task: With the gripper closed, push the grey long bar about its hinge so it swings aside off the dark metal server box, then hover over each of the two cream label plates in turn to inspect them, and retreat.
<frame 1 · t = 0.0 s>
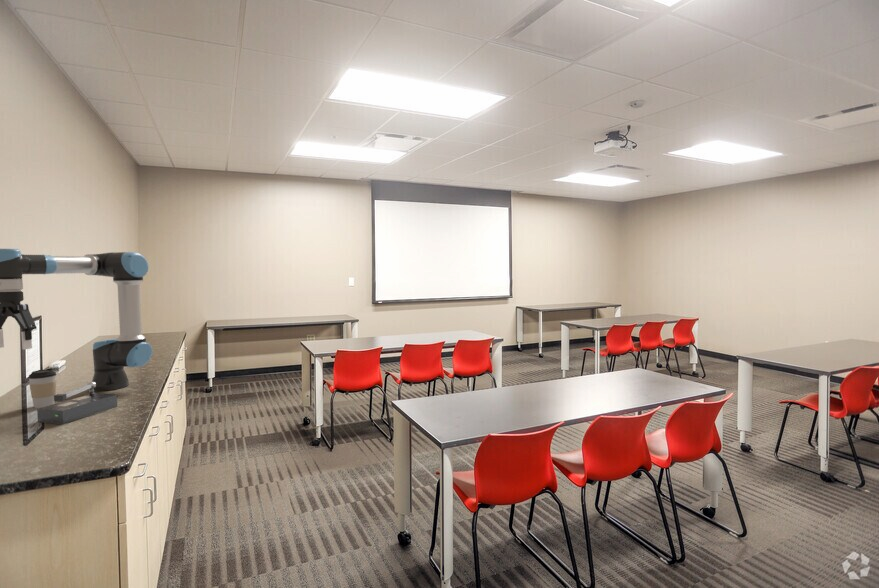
hand: (13, 348, 170), 28 cm above the table, fingers open, 13 cm apart
server box: (79, 413, 182), on the table
grey long bar: (76, 390, 182), point 9 cm above the table, hinge at 0.0°
coffee cup: (44, 405, 193), on the table
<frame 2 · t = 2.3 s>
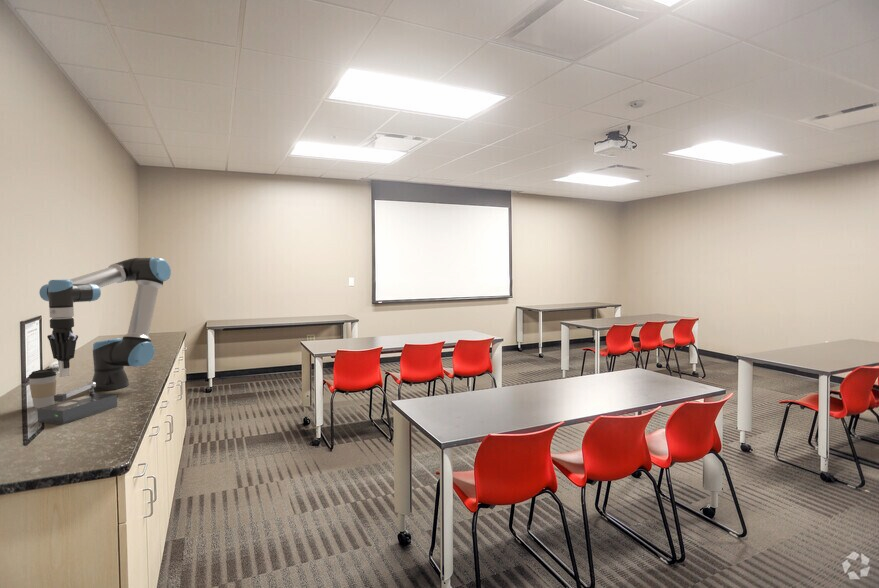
hand: (64, 376, 186), 14 cm above the table, fingers closed
nothing on the table moved.
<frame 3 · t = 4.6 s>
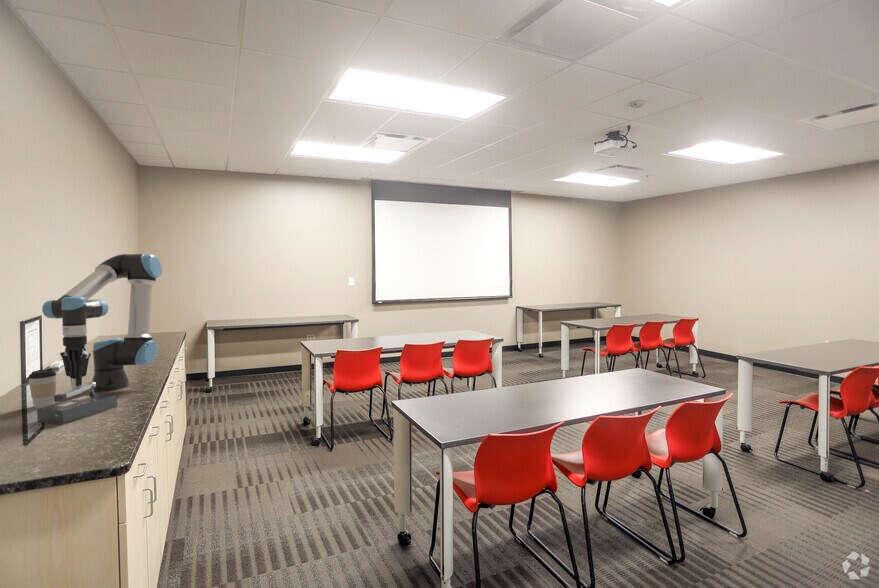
hand: (76, 393, 185), 7 cm above the table, fingers closed
grey long bar: (77, 390, 182), point 9 cm above the table, hinge at 0.1°, touching gripper
everything else where it was.
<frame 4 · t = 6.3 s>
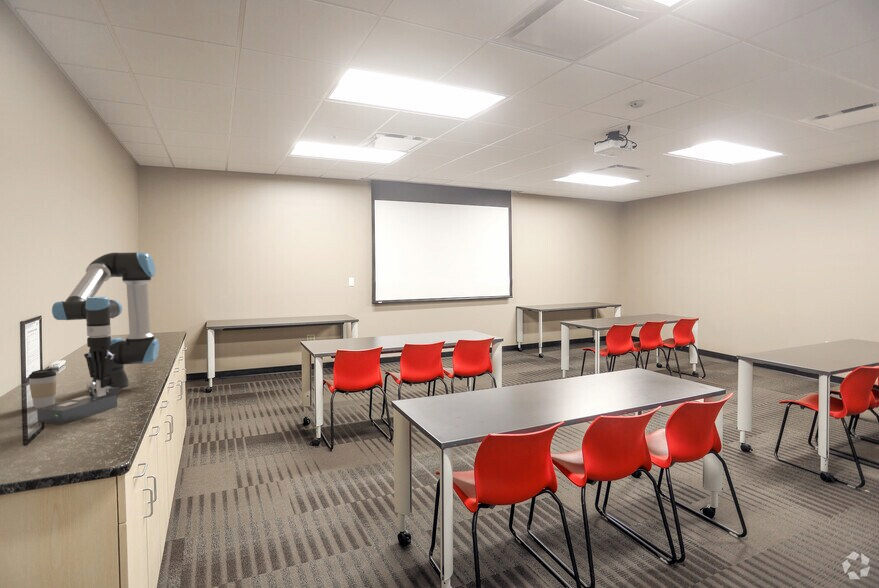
hand: (101, 395, 182), 7 cm above the table, fingers closed
grey long bar: (102, 387, 186), point 9 cm above the table, hinge at 53.3°, touching gripper
everything else where it was.
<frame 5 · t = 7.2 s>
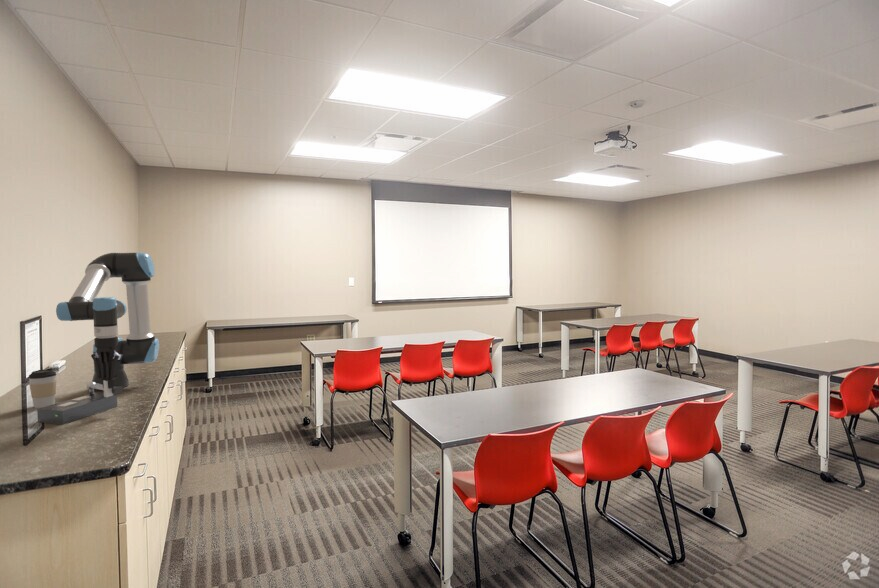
hand: (108, 396, 181), 7 cm above the table, fingers closed
grey long bar: (103, 387, 187), point 9 cm above the table, hinge at 56.7°, touching gripper
everything else where it was.
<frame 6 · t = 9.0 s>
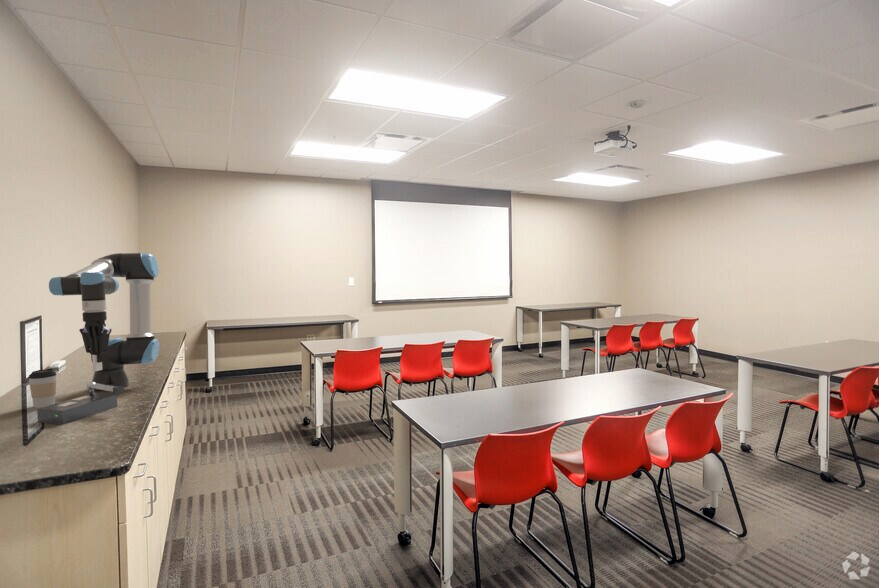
hand: (97, 370, 182), 17 cm above the table, fingers closed
grey long bar: (104, 387, 187), point 9 cm above the table, hinge at 57.8°
everything else where it was.
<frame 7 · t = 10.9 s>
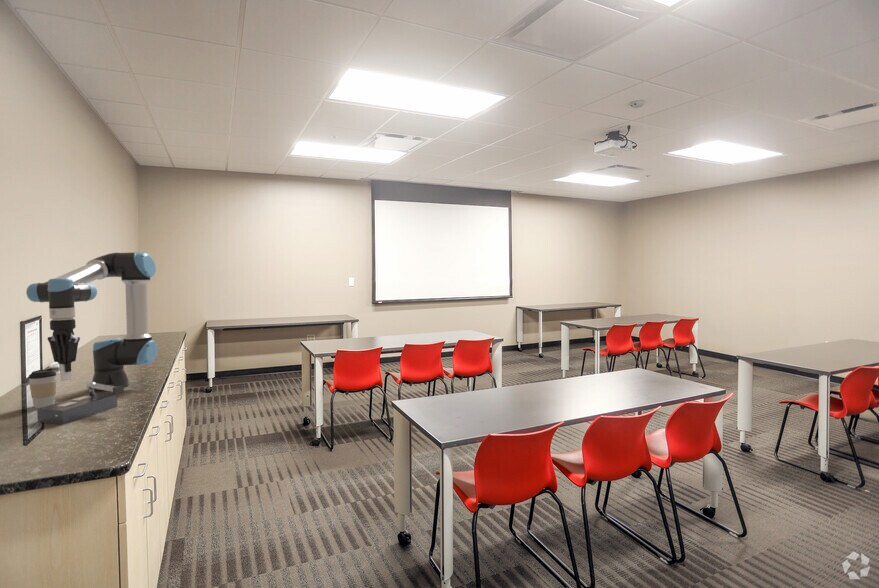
hand: (66, 380, 176), 15 cm above the table, fingers closed
nothing on the table moved.
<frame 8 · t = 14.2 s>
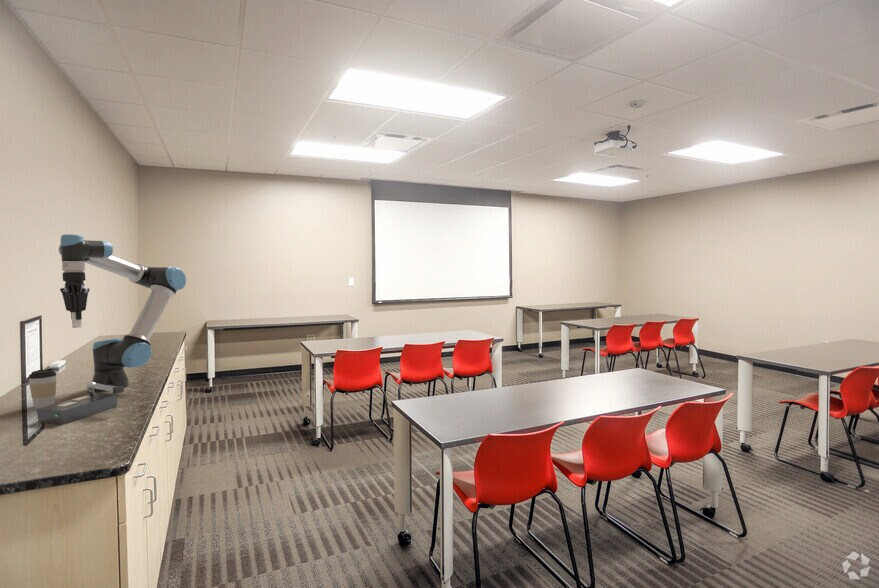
hand: (77, 327, 195), 32 cm above the table, fingers closed
nothing on the table moved.
at the end: grey long bar at +58° (first picture: +0°) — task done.
